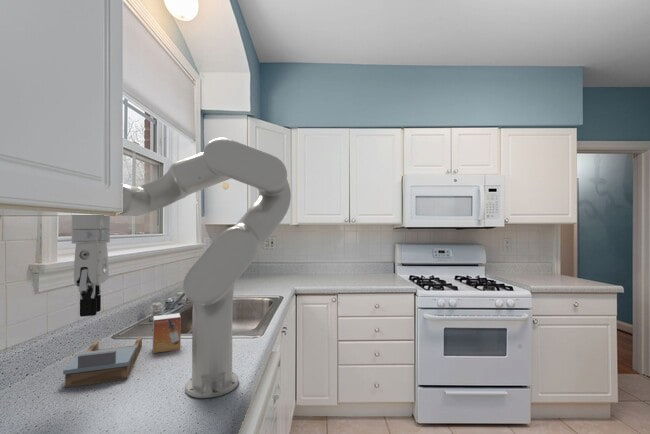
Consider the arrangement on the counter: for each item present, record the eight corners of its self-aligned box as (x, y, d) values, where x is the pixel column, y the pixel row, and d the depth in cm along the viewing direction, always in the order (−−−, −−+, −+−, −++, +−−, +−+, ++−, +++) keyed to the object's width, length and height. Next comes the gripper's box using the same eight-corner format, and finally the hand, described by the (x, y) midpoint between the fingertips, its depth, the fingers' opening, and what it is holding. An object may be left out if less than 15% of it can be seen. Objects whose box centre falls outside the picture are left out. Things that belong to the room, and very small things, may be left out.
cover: (128, 365, 88) (128, 350, 88) (63, 374, 83) (63, 358, 83) (136, 349, 99) (136, 335, 99) (79, 356, 94) (79, 341, 94)
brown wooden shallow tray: (126, 378, 88) (127, 366, 88) (65, 387, 83) (65, 375, 83) (141, 346, 111) (141, 337, 111) (93, 352, 106) (94, 342, 106)
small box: (152, 354, 104) (153, 320, 104) (152, 348, 109) (152, 315, 109) (180, 349, 108) (181, 316, 108) (179, 344, 113) (179, 312, 113)
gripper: (100, 238, 74) (99, 321, 74) (117, 235, 90) (116, 304, 89) (58, 238, 72) (57, 325, 71) (83, 235, 87) (82, 307, 87)
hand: (90, 313), depth 80 cm, fingers open, 2 cm apart
